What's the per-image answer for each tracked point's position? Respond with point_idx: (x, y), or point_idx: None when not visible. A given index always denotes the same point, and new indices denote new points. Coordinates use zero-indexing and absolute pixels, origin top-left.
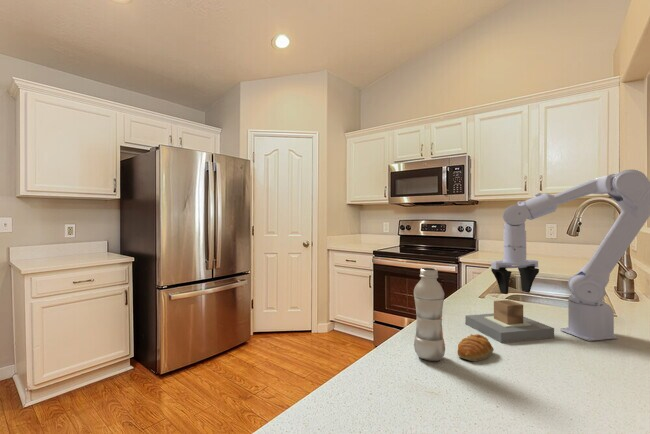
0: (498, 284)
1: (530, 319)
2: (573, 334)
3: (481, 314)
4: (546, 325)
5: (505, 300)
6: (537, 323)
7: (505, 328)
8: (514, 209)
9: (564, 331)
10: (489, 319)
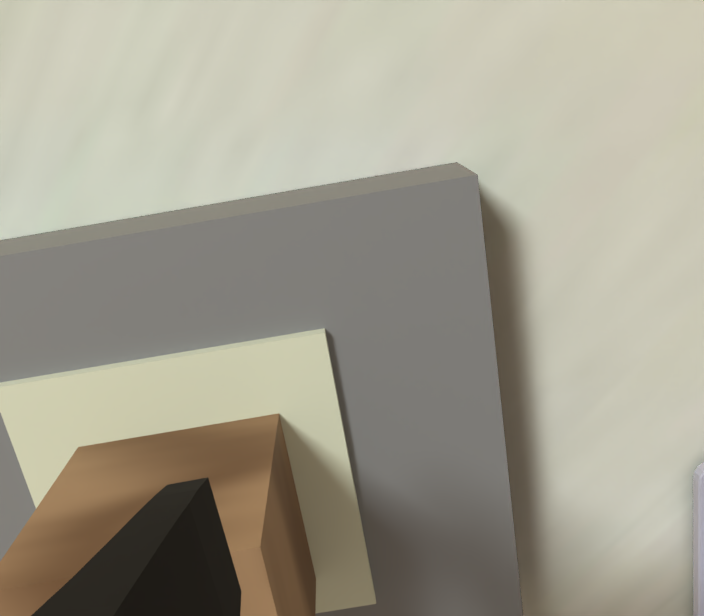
0: (69, 594)
1: (495, 444)
2: (696, 575)
3: (11, 260)
4: (515, 600)
5: None
6: (473, 552)
7: None
8: None
9: (693, 509)
10: (20, 461)
